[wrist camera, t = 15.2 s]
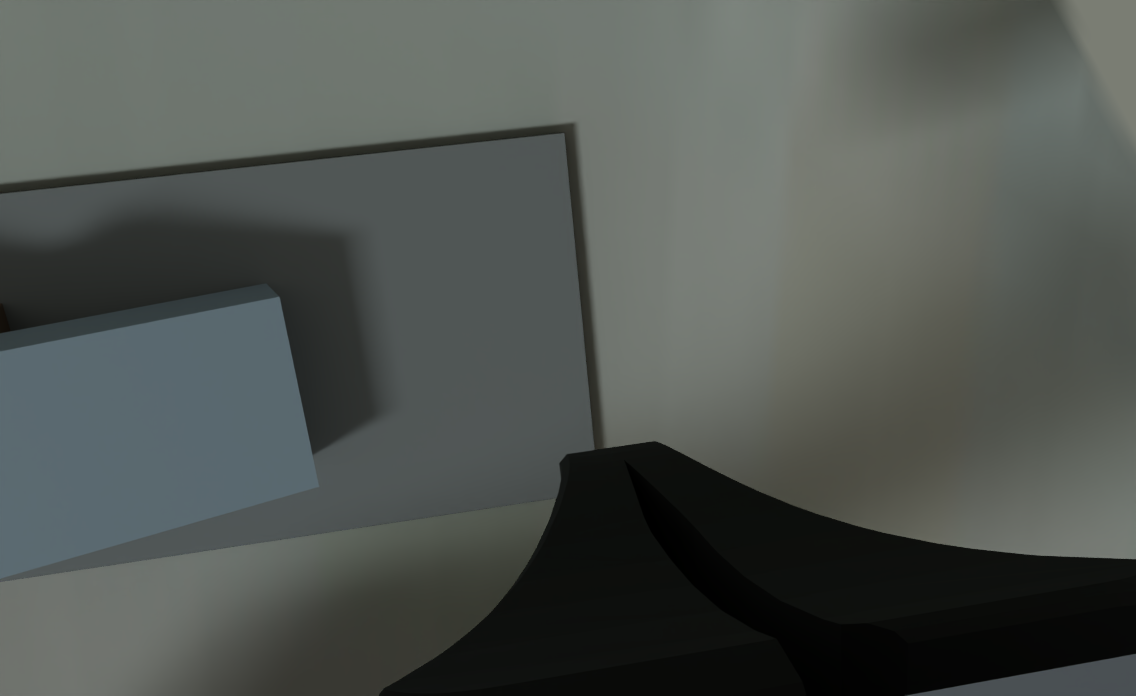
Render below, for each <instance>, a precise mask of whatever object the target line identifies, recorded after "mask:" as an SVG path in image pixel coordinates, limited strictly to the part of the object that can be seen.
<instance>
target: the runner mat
mask: <svg viewBox="0 0 1136 696" xmlns="http://www.w3.org/2000/svg"><path fill="white" fill-rule="evenodd" d="M265 283H266V284H267V285H268V286H269V287H270V288H271V289H272V290H273V291H274V292H275V293H276V294H277V295H278V296H279V297H280V302H281V306H282V311H283V316H284V321H285V326H286V330H287V335H288V340H289V345H290V350H291V354H292V359H293V364H294V369H295V373H296V378H297V383H298V388H299V393H300V397H301V402H302V407H303V412H304V417H305V421H306V426H307V431H308V436H309V441H310V445H311V450H312V455H313V460H314V464H315V469H316V474H317V479H318V484H319V487H316V488H313V489H309V490H306V491H302V492H299V493H295V494H292V495H289V496H285V497H282V498H278V499H275V500H271V501H268V502H264V503H261V504H257V505H254V506H250V507H247V508H243V509H240V510H237V511H233V512H230V513H226V514H223V515H219V516H216V517H212V518H209V519H205V520H202V521H198V522H195V523H191V524H188V525H185V526H181V527H178V528H174V529H171V530H167V531H164V532H160V533H157V534H153V535H150V536H146V537H143V538H139V539H136V540H132V541H129V542H126V543H122V544H119V545H115V546H112V547H108V548H105V549H101V550H98V551H94V552H91V553H87V554H84V555H80V556H77V557H74V558H70V559H67V560H63V561H60V562H56V563H53V564H49V565H46V566H42V567H39V568H35V569H32V570H28V571H25V572H22V573H18V574H15V575H11V576H8V577H4V578H1V579H0V582H3V581H9V580H16V579H23V578H29V577H36V576H43V575H49V574H56V573H62V572H69V571H76V570H82V569H89V568H96V567H102V566H109V565H116V564H122V563H129V562H135V561H142V560H149V559H155V558H162V557H169V556H175V555H182V554H189V553H195V552H202V551H208V550H215V549H222V548H228V547H235V546H242V545H248V544H255V543H261V542H268V541H275V540H281V539H288V538H295V537H301V536H308V535H315V534H321V533H328V532H334V531H341V530H348V529H354V528H361V527H368V526H374V525H381V524H388V523H394V522H401V521H407V520H414V519H421V518H427V517H434V516H441V515H447V514H454V513H461V512H467V511H474V510H480V509H487V508H494V507H500V506H507V505H514V504H520V503H527V502H534V501H540V500H547V499H553V498H557V495H558V492H559V487H560V482H561V475H560V466H559V463H560V462H561V460H562V459H563V458H564V457H565V456H566V454H571V453H578V452H585V451H591V450H595V449H594V439H593V428H592V418H591V407H590V397H589V386H588V376H587V365H586V355H585V344H584V334H583V323H582V313H581V302H580V292H579V281H578V271H577V260H576V250H575V239H574V229H573V218H572V208H571V198H570V187H569V177H568V166H567V156H566V145H565V135H564V133H553V134H544V135H535V136H526V137H516V138H507V139H498V140H488V141H479V142H470V143H461V144H451V145H442V146H433V147H424V148H414V149H405V150H396V151H387V152H377V153H368V154H359V155H349V156H340V157H331V158H322V159H312V160H303V161H294V162H285V163H275V164H266V165H257V166H248V167H238V168H229V169H220V170H210V171H201V172H192V173H183V174H173V175H164V176H155V177H146V178H136V179H127V180H118V181H109V182H99V183H90V184H81V185H71V186H62V187H53V188H44V189H34V190H25V191H16V192H7V193H0V303H2V304H3V308H4V311H5V314H6V318H7V321H8V324H9V327H10V331H16V330H21V329H26V328H32V327H37V326H42V325H47V324H53V323H58V322H63V321H69V320H74V319H79V318H85V317H90V316H95V315H100V314H106V313H111V312H116V311H122V310H127V309H132V308H138V307H143V306H148V305H153V304H159V303H164V302H169V301H175V300H180V299H185V298H191V297H196V296H201V295H206V294H212V293H217V292H222V291H228V290H233V289H238V288H244V287H249V286H254V285H259V284H265Z"/></svg>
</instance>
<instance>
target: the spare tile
mask: <svg viewBox="0 0 1136 696" xmlns="http://www.w3.org/2000/svg"><path fill="white" fill-rule="evenodd" d="M316 487H319V484H318V479H317V474H316V469H315V464H314V460H313V455H312V450H311V445H310V441H309V436H308V431H307V426H306V421H305V417H304V412H303V407H302V402H301V397H300V393H299V388H298V383H297V378H296V373H295V369H294V364H293V359H292V354H291V350H290V345H289V340H288V335H287V330H286V326H285V321H284V316H283V311H282V306H281V302H280V297H279V296H278V295H277V294H276V293H275V292H274V291H273V290H272V289H271V288H270V287H269V286H268V285H267V284H266V283H265V284H259V285H254V286H249V287H244V288H238V289H233V290H228V291H222V292H217V293H212V294H206V295H201V296H196V297H191V298H185V299H180V300H175V301H169V302H164V303H159V304H153V305H148V306H143V307H138V308H132V309H127V310H122V311H116V312H111V313H106V314H100V315H95V316H90V317H85V318H79V319H74V320H69V321H63V322H58V323H53V324H47V325H42V326H37V327H32V328H26V329H21V330H16V331H10V332H5V333H0V579H1V578H4V577H8V576H11V575H15V574H18V573H22V572H25V571H28V570H32V569H35V568H39V567H42V566H46V565H49V564H53V563H56V562H60V561H63V560H67V559H70V558H74V557H77V556H80V555H84V554H87V553H91V552H94V551H98V550H101V549H105V548H108V547H112V546H115V545H119V544H122V543H126V542H129V541H132V540H136V539H139V538H143V537H146V536H150V535H153V534H157V533H160V532H164V531H167V530H171V529H174V528H178V527H181V526H185V525H188V524H191V523H195V522H198V521H202V520H205V519H209V518H212V517H216V516H219V515H223V514H226V513H230V512H233V511H237V510H240V509H243V508H247V507H250V506H254V505H257V504H261V503H264V502H268V501H271V500H275V499H278V498H282V497H285V496H289V495H292V494H295V493H299V492H302V491H306V490H309V489H313V488H316Z"/></svg>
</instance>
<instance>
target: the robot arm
mask: <svg viewBox="0 0 1136 696" xmlns="http://www.w3.org/2000/svg"><path fill="white" fill-rule="evenodd" d="M559 466H560V475H561V482H560V487H559V492H558V495H557V499H556V502H555V505H554V508H553V511H552V514H551V517H550V520H549V522H548V524H547V526H546V529H545V531H544V533H543V535H542V537H541V539H540V541H539V544H538V546H537V548H536V550H535V552H534V553H533V555H532V557H531V559H530V560H529V562H528V564H527V565H526V567H525V569H524V570H523V572H522V573H521V575H520V576H519V578H518V579H517V581H516V582H515V584H514V585H513V586H512V588H511V589H510V590H509V591H508V593H507V594H506V595H505V596H504V598H503V599H502V600H501V601H500V602H499V604H498V605H497V606H496V607H495V608H494V609H493V611H492V612H491V613H490V614H489V615H488V616H487V617H486V618H485V619H483V620H482V621H481V622H480V623H479V624H478V625H477V626H476V627H475V628H473V629H472V630H471V631H470V632H469V633H468V634H466V635H465V636H464V637H463V638H461V639H460V640H459V641H458V642H456V643H455V644H454V645H453V646H451V647H450V648H449V649H447V650H446V651H444V652H443V653H442V654H440V655H439V656H437V657H436V658H434V659H433V660H431V661H429V662H428V663H426V664H424V665H423V666H421V667H420V668H418V669H416V670H415V671H413V672H411V673H410V674H408V675H407V676H405V677H403V678H402V679H400V680H398V681H397V682H395V683H393V684H391V685H389V686H388V687H386V688H384V689H383V690H382V692H381V693H380V694H379V696H1136V559H1112V558H1085V557H1058V556H1036V555H1024V554H1015V553H1006V552H997V551H987V550H978V549H970V548H963V547H957V546H950V545H943V544H937V543H931V542H926V541H921V540H916V539H911V538H906V537H901V536H896V535H891V534H887V533H882V532H878V531H874V530H870V529H866V528H862V527H858V526H855V525H851V524H848V523H845V522H841V521H838V520H835V519H832V518H828V517H825V516H822V515H818V514H815V513H812V512H809V511H807V510H804V509H801V508H798V507H795V506H793V505H790V504H788V503H785V502H783V501H781V500H778V499H776V498H773V497H771V496H768V495H766V494H763V493H761V492H759V491H757V490H754V489H752V488H750V487H748V486H745V485H743V484H741V483H739V482H737V481H735V480H733V479H731V478H729V477H727V476H725V475H723V474H721V473H719V472H717V471H715V470H713V469H711V468H709V467H707V466H705V465H703V464H701V463H699V462H697V461H695V460H693V459H691V458H690V457H688V456H686V455H684V454H682V453H680V452H678V451H676V450H674V449H672V448H670V447H668V446H666V445H663V444H661V443H658V442H655V441H653V442H646V443H639V444H633V445H626V446H619V447H612V448H605V449H598V450H591V451H585V452H578V453H571V454H566V456H565V457H564V458H563V459H562V460H561V462H560V463H559Z"/></svg>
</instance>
